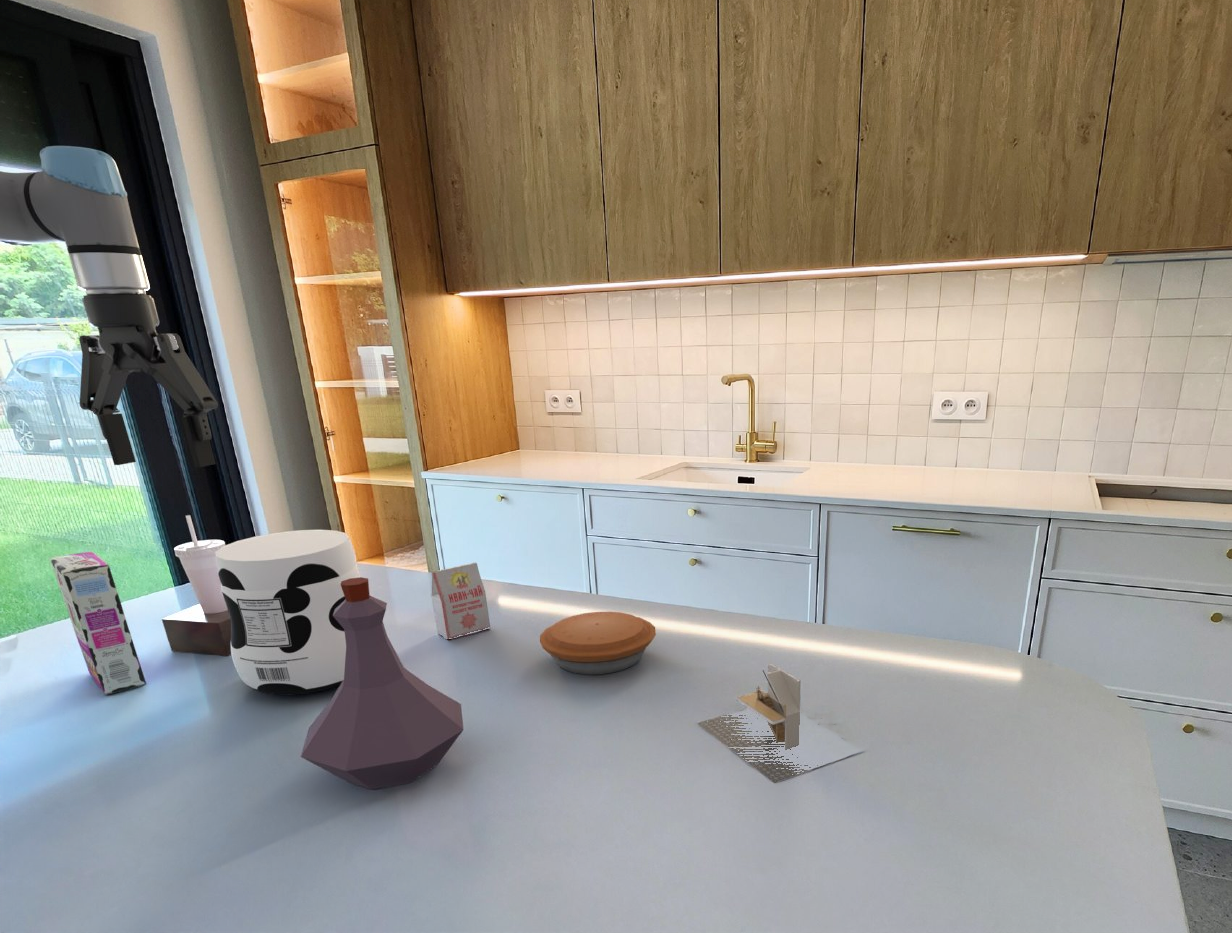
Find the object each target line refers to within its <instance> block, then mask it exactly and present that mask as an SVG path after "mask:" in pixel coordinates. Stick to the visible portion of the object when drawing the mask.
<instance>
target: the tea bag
mask: <svg viewBox="0 0 1232 933" xmlns="http://www.w3.org/2000/svg"><path fill="white" fill-rule="evenodd" d="M478 566H479V565H478V563H477V562H471V563H467V564H462V565H458V566H453V567H448V568H443V569H439V570H434V571H431V594H430V595H431V597H430V598H431V603H432V608H433V615H434V619H435V626H436V632H437V634H438V633H439V634H440V635H442V636H443V637H445V638H447V639H449V638H454V637H457V636H459V635H465V634H467V633H470V632H474V631H478V630H483V629H485V628H488V627H490V628H491V623H490V616H489V608H488V601H487V593H486V590H485V586H484V583H483V580H482V577H481V573H480V571H479V567H478ZM440 635H439V636H440ZM443 637H442V638H443ZM445 638H444V639H445Z"/></svg>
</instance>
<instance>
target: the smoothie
mask: <svg viewBox="0 0 1232 933" xmlns="http://www.w3.org/2000/svg"><path fill="white" fill-rule="evenodd" d="M185 519H186V523H187V526H188V529H189V533H190V536H191V540H192V541H189V542H185V543H182V544H179V545H177V546H175V547H174V548H173V550H174V555H175V557H177V558H178V559H179V560H180V564H181V565H182V568H183V570H184V572H185V574H186V576H187V579H188V581H189V584H190V586H191V588H192V590H193V592H194V594H195V596H196V599H197V601H198V603H199V604H200V606H201V608H202V610H203V612H204V613H208V614H211V613H219V612H224V611H227V610H228V609H227V606H226V603H225V600H224V597H223V593H222V590H221V582H220V579H219V575H218V569H217V563H216V551H217V550H219V549H220V548H222V547H223V546H225V545H226V542H225V541H224V540H221V539H203V540H198V538H197V536H196V530H195V527H194V523H193V521H192V517H191V515H190V514H187V515H185Z"/></svg>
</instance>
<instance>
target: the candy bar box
mask: <svg viewBox="0 0 1232 933" xmlns="http://www.w3.org/2000/svg"><path fill="white" fill-rule="evenodd" d="M49 561H50V564H51V566H52V569H53V573H54V575H55V577H56V580H57V584H58V587H59V590H60V593H61V596H62V599H63V601H64V604H65V608H66V611H67V613H68V616H69V619H70V621H71V625H72V628H73V630H74V633H75V636H76V637H75V638H76V639H77V642H78V645H79V648H80V651H81V654H82V657H83V660H84V662H85V665H86V667H87V671H88V673H89V675H90V677H92V679H93V680H94V682H95V684H97V686H98V687H99V689H100V690H101V692H102V694H103V695H104V696H109V695H112V694H116V693H120V692H125V691H128V690H132V689H136V688H139V687H142V686H146V685H147V681H146V678H145V675H144V672H143V669H142V666H141V663H140V662H141V661H140V659H139V657H138V654H137V650H136V647H135V644H134V641H133V640H134V639H133V637H132V634H131V631H130V628H129V625H128V621H127V617H126V614H125V612H124V609H123V605H122V601H121V599H120V596H119V593H118V590H117V586H116V583H115V580H114V577H113V574H112V571H111V567H110V565H109V564H108V563H107V562H106V561H104V560H103V559H102V558H101V557H100V556H98V555H97V554H95V552H93V551H85V552H77V553H72V554H64V555H60V556H54V557H50V558H49Z"/></svg>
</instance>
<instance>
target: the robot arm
mask: <svg viewBox="0 0 1232 933" xmlns="http://www.w3.org/2000/svg"><path fill="white" fill-rule="evenodd" d="M39 158H40V164H41V165H40V168H41V170H40V171H32V172H7V171H0V245H9V246H12V245H13V246H22V247H27V246H32V245H35V244H36V245H37V244H50V243H62V242H64V243H65V247H66V250H67V253H68V257H69V260H70V261H69V262H70V264H71V268H72V271H73V274H74V279H75V282H76V285H77V288H78V289H79V290H81V291H85V295H83V297H82V298H81V300H82V304H83V307H84V310H85V314H86V317H87V321H88V323H89V325H90V326H91V327H92V328H96V329H97V330H98V335H97V334H96V335H95V334H94V335H93V334H92V335H91V334H90V335H89V334H88V335H80V336H79V337H78V340H79V344H80V345H79V346H80V349H81V355H82V356H81V369H80V370H81V371H80V372H81V373H80V374H81V375H80V388H79V407H80V408H81V410H84V411H90V412H92V413H93V414H94V415H96V417H97V420H98V424H99V427H100V430H101V434H102V436H103V438H104V439H105V440H106V442H107V446H108V449H109V452H110V455H111V458H112V462H113V465H114V466H122V465H126V464H132V463H136V462H137V460H136V457H135V454H134V450H133V446H132V444H131V440H130V437H129V432H128V430H127V427H126V423H125V420H124V416H123V413H120V412H121V410H119V408H118V405H119V403H120V399H121V396H122V394H123V390H124V387H125V385H126V381H127V379H128V376H129V375H131V373H133V372H135V373H145V374H147V375H149V376H151V377H152V378H154V380H155V381H156V382H157V383H158V384H159V385H160V386H161V388H163V389H164V391H165V392H166V393H167V394H168V395H169V396H170V397H171V398H172V399H173V400H174V402H175V403H176V404H177V405H178V406H179V407H180V408H181V409H182V410H183V411H184V412H183V413H182V416H181V420H182V424H183V428H184V431H185V434H186V439H187V442H188V446H189V451H190V454H191V458H192V461H193V465H194V468H203V467H207V466H208V467H209V466H214V465H217V464H216V460H215V456H214V452H213V447H212V445H211V440H212V431H211V428H210V424H209V420H208V413H209V412H210V411H212V410H216V409H218V408H219V404H218V401H217V400H216V398H215V396H214V394H212V393H213V392H211V390H210V389H209V386H208V385H207V384H206V381H205V380H204V379H203V378H202V376H201V374H200V373H199V371H198V370H197V368H196V366H195V365H194V363H193V361H192V360H191V359H190V357H189V356H188V354H187V353H186V351H185V348H184V344H183V341H182V339H181V336H180V335H179V334H178V333H158V332H157V329H156V327H158V326H159V325H160V319H159V315H158V311H157V307H156V304H155V300H154V298H153V297H152V296H151V295H149V294H147V292H146V291H149V290H150V289H151V287H150V282H149V279H148V275H147V270H146V267H145V263H144V260H143V256H142V252H141V249H140V246H139V242H138V237H137V234H136V229H135V226H134V222H133V218H132V213H131V209H130V205H129V201H128V192H127V191H126V189H125V187H124V186H125V185H124V183H123V180H122V177H121V174H120V171H119V168H118V166H117V162H116V161H115V160H114V158H113V157H112V156H111V155H110V154H108V153H106V152H104V151H102V150H98V149H94V148H89V147H83V146H72V145H51V146H45V147H44V148H42V149H41V150H40V151H39Z"/></svg>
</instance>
